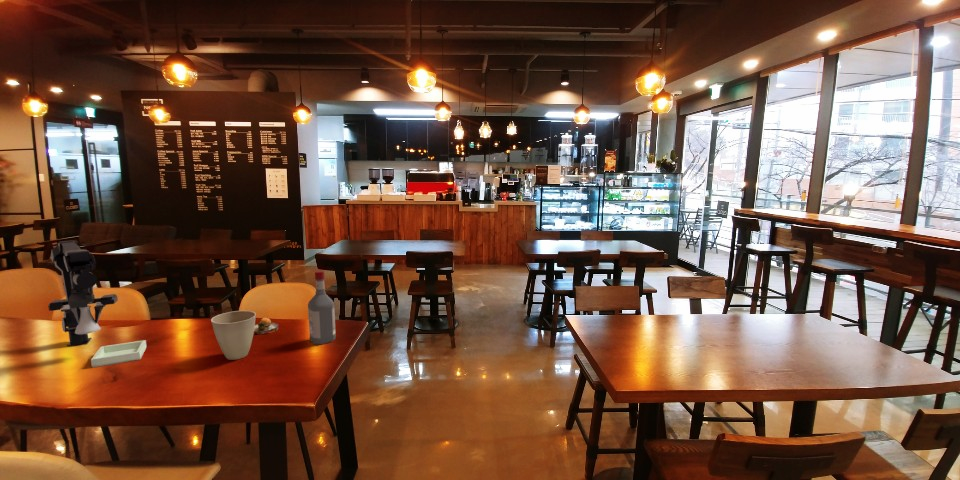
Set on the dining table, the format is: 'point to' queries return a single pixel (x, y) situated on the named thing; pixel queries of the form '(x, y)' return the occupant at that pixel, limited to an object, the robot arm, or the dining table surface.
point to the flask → (86, 322)
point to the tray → (118, 353)
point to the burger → (265, 326)
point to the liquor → (321, 314)
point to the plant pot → (234, 332)
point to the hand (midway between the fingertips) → (87, 323)
